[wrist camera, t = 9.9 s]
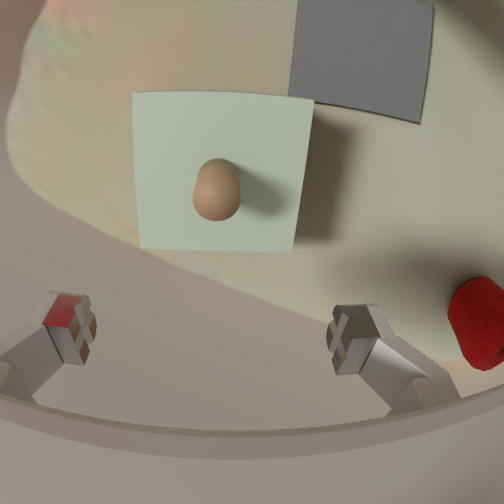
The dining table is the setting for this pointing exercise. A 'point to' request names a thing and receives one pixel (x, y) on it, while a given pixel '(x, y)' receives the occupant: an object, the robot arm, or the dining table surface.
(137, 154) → the lid
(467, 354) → the apple
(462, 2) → the dining table surface
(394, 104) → the mat
